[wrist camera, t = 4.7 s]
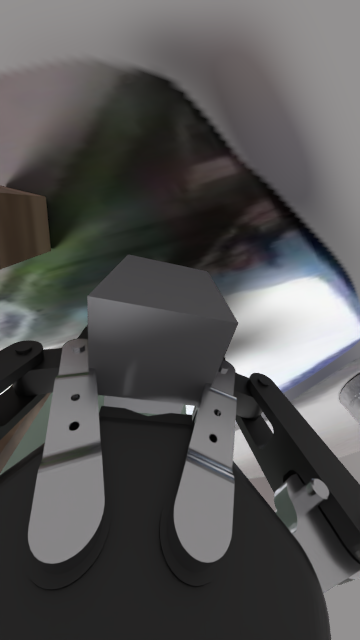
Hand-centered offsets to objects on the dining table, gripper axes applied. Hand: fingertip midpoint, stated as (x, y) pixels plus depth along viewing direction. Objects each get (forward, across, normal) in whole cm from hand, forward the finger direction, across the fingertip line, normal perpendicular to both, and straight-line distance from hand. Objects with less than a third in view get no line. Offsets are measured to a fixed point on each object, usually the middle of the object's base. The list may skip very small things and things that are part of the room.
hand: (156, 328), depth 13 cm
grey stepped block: (+1, 0, 0) cm, 1 cm away
